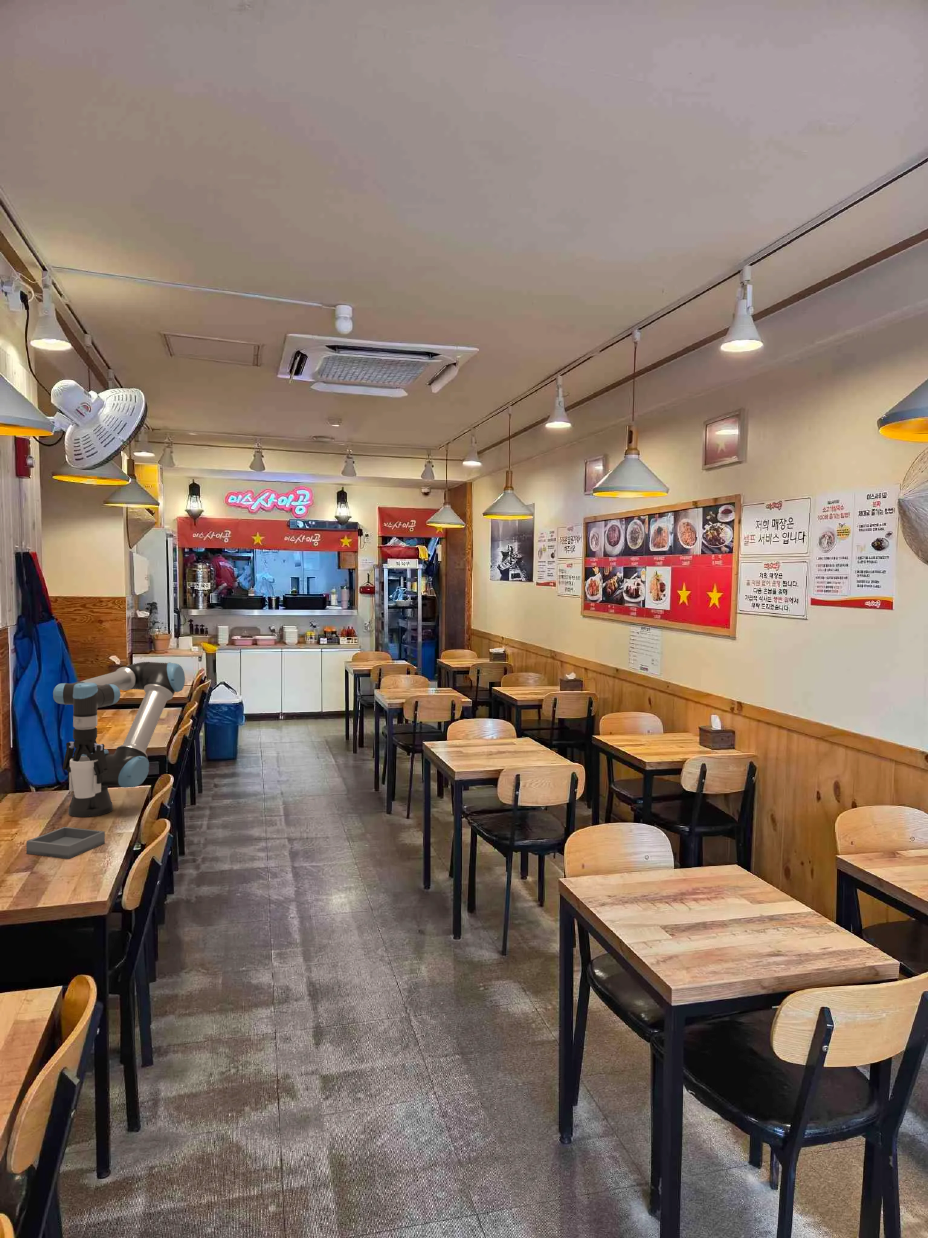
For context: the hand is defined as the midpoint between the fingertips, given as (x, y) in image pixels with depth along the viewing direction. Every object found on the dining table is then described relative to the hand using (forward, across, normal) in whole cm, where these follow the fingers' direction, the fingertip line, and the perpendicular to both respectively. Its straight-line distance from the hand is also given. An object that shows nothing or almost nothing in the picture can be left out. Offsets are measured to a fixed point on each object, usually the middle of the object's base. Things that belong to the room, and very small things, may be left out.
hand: (85, 791), depth 265 cm
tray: (+14, +7, -17) cm, 23 cm away
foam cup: (+2, 0, 0) cm, 2 cm away
